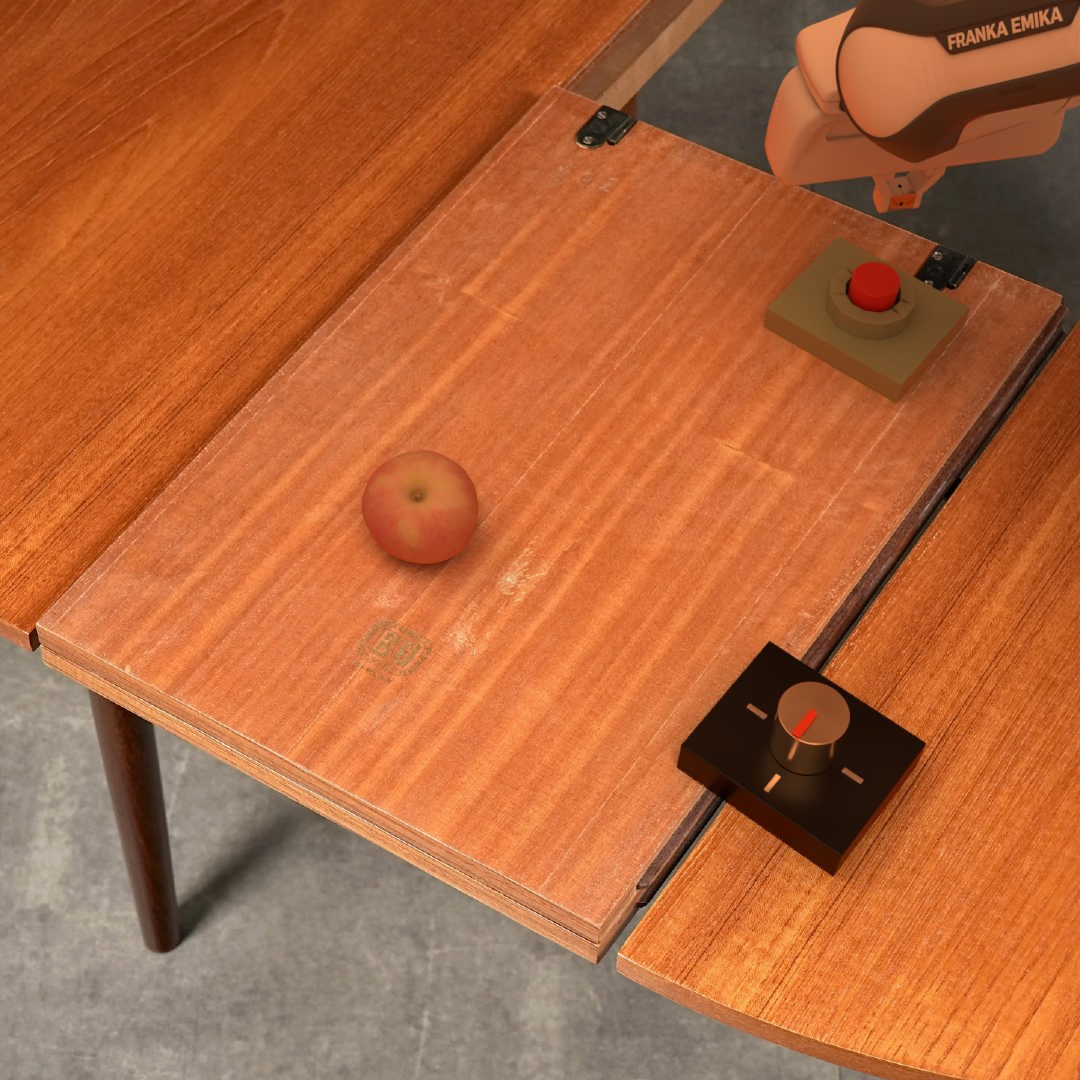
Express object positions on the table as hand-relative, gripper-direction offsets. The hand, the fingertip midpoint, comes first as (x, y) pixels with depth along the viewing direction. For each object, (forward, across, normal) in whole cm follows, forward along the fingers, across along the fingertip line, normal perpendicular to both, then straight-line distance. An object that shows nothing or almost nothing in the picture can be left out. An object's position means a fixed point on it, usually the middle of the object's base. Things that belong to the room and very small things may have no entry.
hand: (894, 204), depth 121 cm
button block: (+13, 0, 0) cm, 13 cm away
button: (+9, 0, 0) cm, 9 cm away
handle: (+9, +16, +36) cm, 40 cm away
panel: (+12, +16, +36) cm, 41 cm away
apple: (+13, +37, +14) cm, 41 cm away
